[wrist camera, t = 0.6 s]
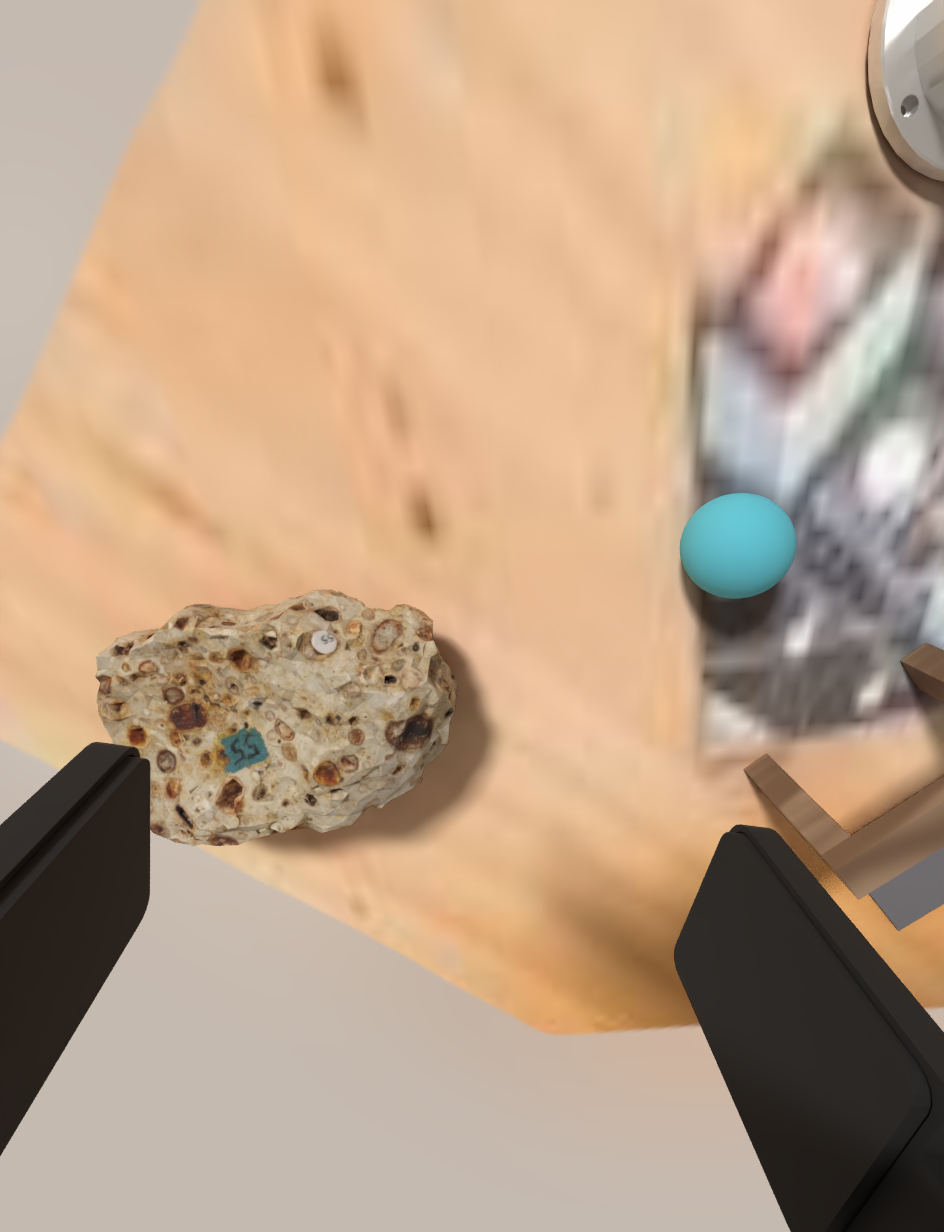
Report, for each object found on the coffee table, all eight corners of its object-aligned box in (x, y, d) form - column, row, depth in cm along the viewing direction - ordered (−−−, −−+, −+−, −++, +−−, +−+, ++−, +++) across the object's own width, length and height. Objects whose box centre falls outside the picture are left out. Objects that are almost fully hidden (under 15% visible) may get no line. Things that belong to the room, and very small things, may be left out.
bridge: (743, 769, 40) (835, 870, 31) (926, 642, 37) (1084, 712, 28) (763, 794, 41) (858, 899, 32) (943, 671, 38) (1102, 748, 29)
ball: (725, 466, 33) (786, 474, 27) (774, 540, 34) (841, 562, 29) (645, 532, 34) (687, 553, 28) (696, 600, 35) (746, 634, 30)
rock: (210, 808, 39) (105, 896, 30) (156, 615, 38) (26, 639, 28) (485, 761, 37) (471, 839, 27) (439, 552, 35) (405, 554, 26)
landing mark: (970, 759, 41) (972, 760, 41) (1026, 850, 44) (1029, 852, 44) (832, 848, 43) (834, 849, 43) (897, 928, 46) (899, 930, 46)
